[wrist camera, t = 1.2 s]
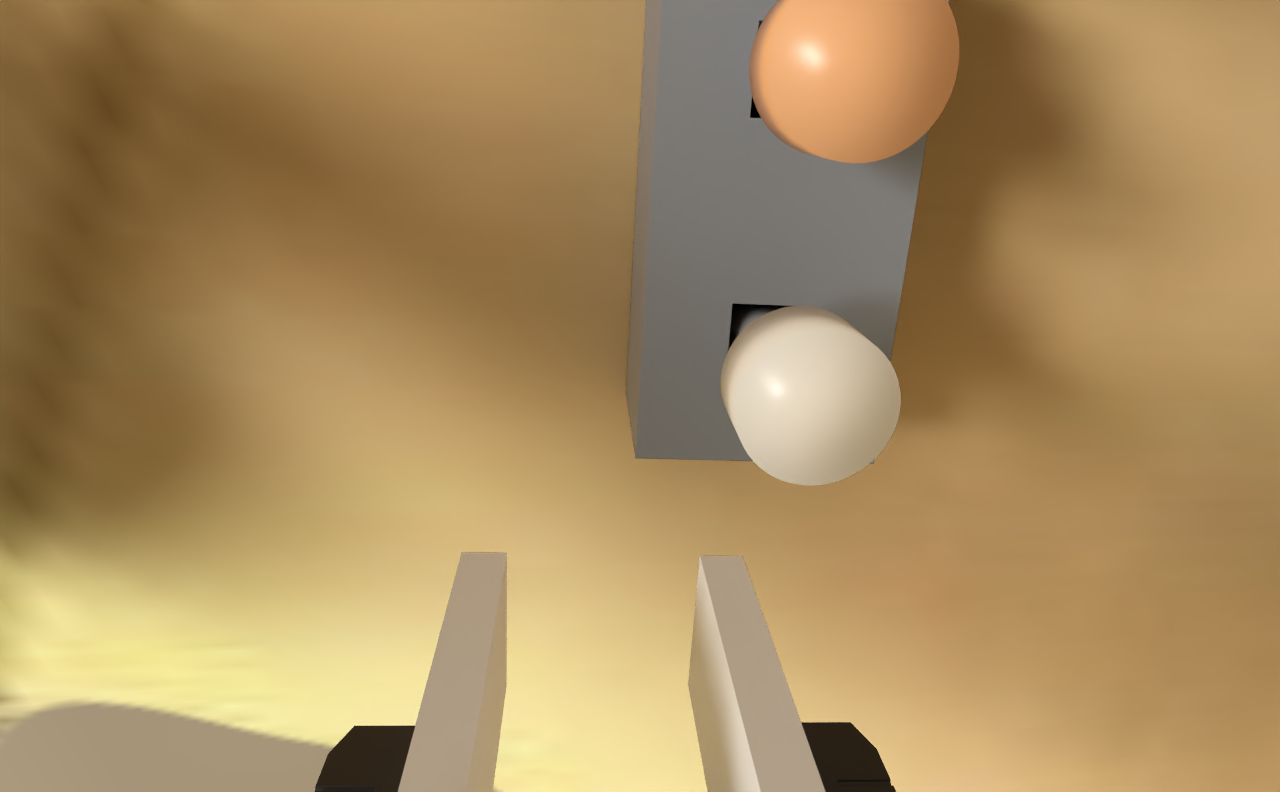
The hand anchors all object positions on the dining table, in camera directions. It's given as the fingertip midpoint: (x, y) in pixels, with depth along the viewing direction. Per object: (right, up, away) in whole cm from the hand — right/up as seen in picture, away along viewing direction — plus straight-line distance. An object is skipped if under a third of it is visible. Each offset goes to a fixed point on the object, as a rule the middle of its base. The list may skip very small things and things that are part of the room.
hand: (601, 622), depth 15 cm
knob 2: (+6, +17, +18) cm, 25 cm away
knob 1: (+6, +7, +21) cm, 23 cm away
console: (+6, +13, +24) cm, 28 cm away
